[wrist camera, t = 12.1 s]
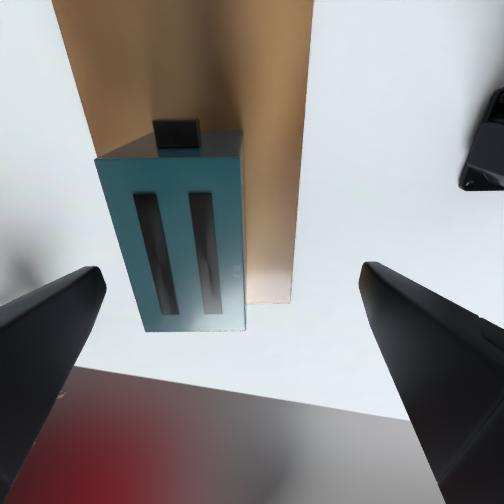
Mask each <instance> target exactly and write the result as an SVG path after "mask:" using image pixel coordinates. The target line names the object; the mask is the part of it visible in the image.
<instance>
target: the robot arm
mask: <svg viewBox="0 0 504 504" xmlns="http://www.w3.org/2000/svg"><path fill="white" fill-rule="evenodd" d="M503 93H504V87H502V88H499V89H498V90H496V91H495V92H494V94H493V96H492V98H491V100H490V103H489V106H488V108H487V111H486V114H485V116H484V119H483V121H482V124H481V126H480V129H479V132H478V134H477V137H476V139H475V142H474V145H473V147H472V150H471V153H470V155H469V158H468V160H467V163H466V166H465V169H464V171H463V174H462V176H461V179H460V182H459V188H460V189H462V190H464V191H504V97H503V99H502V100H501V99H500V98H501V96H502V94H503ZM469 181H470V182H469ZM467 182H469V184H468V185H467V186H466V184H467ZM106 289H107V288H106V283H105V281H104V278H103V275H102V273H101V270H100V269H99V267H97V266H86V267H83V268H81V269H79V270H76V271H74V272H72V273H70V274H68V275H66V276H64V277H62V278H59V279H57V280H55V281H53V282H51V283H49V284H47V285H45V286H43V287H40V288H38V289H36V290H34V291H32V292H30V293H28V294H26V295H23V296H21V297H19V298H17V299H15V300H13V301H11V302H9V303H6V304H4V305H2V306H0V504H4V502H5V500H6V498H7V496H8V494H9V492H10V490H11V488H12V485H13V483H14V482H15V480H16V478H17V476H18V474H19V472H20V470H21V468H22V466H23V464H24V462H25V460H26V458H27V456H28V454H29V452H30V451H31V449H32V446H33V445H34V443H35V441H36V439H37V437H38V435H39V432H40V431H41V429H42V427H43V425H44V423H45V421H46V419H47V417H48V415H49V413H50V411H51V409H52V407H53V405H54V403H55V401H56V399H57V398H58V396H59V394H60V392H61V390H62V388H63V386H64V384H65V382H66V380H67V378H68V376H69V374H70V372H71V370H72V368H73V366H74V364H75V362H76V360H77V358H78V356H79V354H80V352H81V350H82V348H83V346H84V345H85V343H86V341H87V339H88V337H89V335H90V332H91V330H92V328H93V326H94V323H95V320H96V318H97V315H98V312H99V310H100V307H101V304H102V302H103V299H104V297H105V294H106ZM359 290H360V293H361V297H362V300H363V304H364V307H365V310H366V314H367V317H368V321H369V324H370V327H371V329H372V332H373V334H374V336H375V339H376V341H377V343H378V346H379V348H380V350H381V353H382V355H383V357H384V360H385V362H386V364H387V367H388V369H389V371H390V374H391V376H392V378H393V381H394V383H395V385H396V388H397V390H398V392H399V395H400V397H401V399H402V402H403V404H404V406H405V409H406V411H407V414H408V416H409V418H410V421H411V423H412V425H413V428H414V430H415V432H416V435H417V437H418V439H419V441H420V444H421V446H422V448H423V451H424V453H425V455H426V458H427V460H428V462H429V465H430V467H431V470H432V472H433V474H434V476H435V479H436V481H437V482H438V486H439V488H440V491H441V493H442V496H443V498H444V500H445V503H446V504H504V329H502V328H500V327H499V326H497V325H495V324H493V323H491V322H489V321H487V320H485V319H484V318H479V316H478V315H476V314H474V313H472V312H470V311H468V310H467V309H465V308H463V307H461V306H459V305H457V304H455V303H453V302H452V301H450V300H448V299H446V298H444V297H442V296H440V295H438V294H436V293H435V292H433V291H431V290H429V289H427V288H425V287H423V286H421V285H420V284H418V283H416V282H414V281H412V280H410V279H408V278H406V277H405V276H403V275H401V274H399V273H397V272H395V271H393V270H391V269H390V268H388V267H386V266H384V265H382V264H380V263H378V262H365V263H363V265H362V269H361V274H360V278H359Z"/></svg>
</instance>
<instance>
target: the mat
mask: <svg viewBox="0 0 504 504" xmlns="http://www.w3.org/2000/svg"><path fill="white" fill-rule="evenodd" d="M52 4H53V7H54V10H55V14H56V17H57V21H58V24H59V27H60V31H61V34H62V38H63V41H64V45H65V48H66V51H67V55H68V58H69V62H70V65H71V69H72V72H73V75H74V79H75V82H76V86H77V89H78V92H79V96H80V99H81V103H82V106H83V110H84V113H85V116H86V120H87V123H88V127H89V130H90V133H91V137H92V140H93V144H94V147H95V151H96V154H97V157H100V156H102V155H104V154H106V153H109V152H111V151H113V150H115V149H117V148H119V147H121V146H123V145H126V144H128V143H130V142H132V141H134V140H136V139H138V138H141V137H143V136H145V135H147V134H149V133H151V132H154V130H153V125H152V121H153V120H156V119H158V118H199V120H200V130H201V131H233V130H243V131H244V154H245V196H246V238H247V294H246V304H281V303H290V296H291V283H292V270H293V257H294V245H295V232H296V219H297V206H298V193H299V180H300V167H301V154H302V142H303V129H304V116H305V103H306V90H307V77H308V64H309V51H310V39H311V26H312V13H313V0H52Z"/></svg>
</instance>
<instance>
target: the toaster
mask: <svg viewBox="0 0 504 504" xmlns="http://www.w3.org/2000/svg"><path fill="white" fill-rule="evenodd" d="M152 125H153V130H154V132H151V133H149V134H147V135H145V136H143V137H141V138H138V139H136V140H134V141H132V142H130V143H128V144H126V145H123V146H121V147H119V148H117V149H115V150H113V151H111V152H109V153H106V154H104V155H102V156H100V157H98V158H96V159H94V162H95V165H96V169H97V172H98V175H99V179H100V182H101V185H102V189H103V192H104V195H105V199H106V202H107V205H108V209H109V212H110V215H111V219H112V222H113V225H114V229H115V232H116V235H117V239H118V242H119V246H120V249H121V252H122V256H123V259H124V262H125V266H126V269H127V272H128V276H129V279H130V282H131V286H132V289H133V292H134V296H135V299H136V302H137V306H138V309H139V312H140V316H141V319H142V322H143V326H144V329H145V332H191V331H245V330H246V294H247V238H246V196H245V154H244V131H243V130H233V131H201V130H200V120H199V118H158V119H156V120H153V121H152Z"/></svg>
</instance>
